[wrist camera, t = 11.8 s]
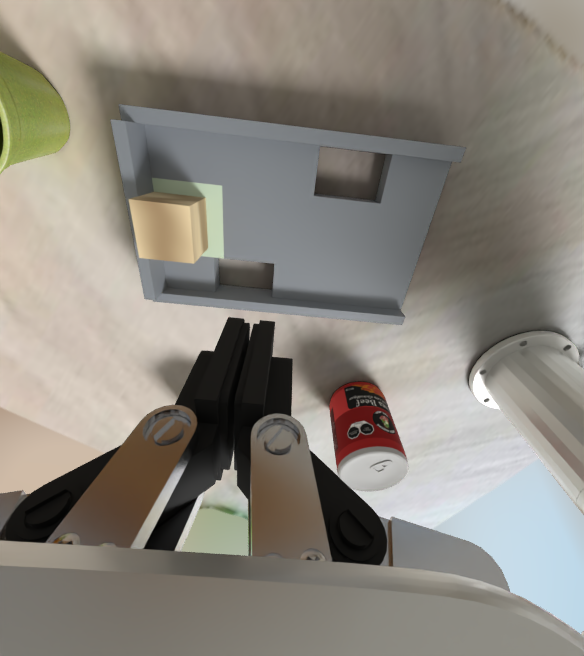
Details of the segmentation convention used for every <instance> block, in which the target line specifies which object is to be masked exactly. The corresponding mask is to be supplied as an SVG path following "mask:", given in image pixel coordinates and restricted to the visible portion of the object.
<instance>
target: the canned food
mask: <svg viewBox="0 0 584 656" xmlns="http://www.w3.org/2000/svg"><path fill="white" fill-rule="evenodd" d="M329 408H330V417H331V425H332V433H333V441H334V449H335V457H336V465H337V472H338V475H339V478H340V479H341V480H342V481H343V482H344V483H346V484H347V485H348V486H349V487H350V488H351V489H353V490H357V491H378V490H383V489H387V488H389V487H392V486H394V485H396V484H398V483H399V482H400V481H402V480H403V479H404V478H405V477H406V475H407V473H408V470H409V466H408V462H407V458H406V455H405V452H404V449H403V446H402V443H401V441H400V438H399V435H398V432H397V430H396V427H395V424H394V421H393V419H392V416H391V413H390V410H389V408H388V405H387V402H386V399H385V397H384V395H383V393H382V392H381V391H380V390H379V389H378V387H376V386H375V385H373V384H371V383H367V382H352V383H348V384H346V385H344V386H342V387H340V388H339V389H338V390H336V391H335V393H334V394H333V395H332V397H331V401H330V405H329Z"/></svg>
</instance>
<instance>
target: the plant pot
mask: <svg viewBox="0 0 584 656" xmlns="http://www.w3.org/2000/svg"><path fill="white" fill-rule="evenodd" d="M69 133H70V122H69V117H68V113H67V110H66V107H65V105H64V103H63V100H62V99H61V97H60V96H59V94H58V93H57V92H56V91H55V90H54V88H53V87H52V86H51V85H50V84H49V82H48V81H47V80H46V79H45V78H44V77H43V75H42V74H40V73H39V72H38V71H36V70H35V69H33V68H32V67H30V66H28V65H26V64H24V63H22V62H20V61H18V60H16V59H14V58H12V57H10V56H8V55H6V54H4V53H2V52H0V174H1V173H2V171H3V170H4V169H6V168H7V167H9V166H10V165H12V164H16V163H19V162H23V161H26V160H30V159H34V158H37V157H41V156H45V155H49V154H52V153H56V152H57V151H59V150H60V149H61V148H62V147H63V146H64V144H65V143H66V142H67V140H68V138H69Z"/></svg>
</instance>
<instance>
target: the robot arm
mask: <svg viewBox="0 0 584 656" xmlns="http://www.w3.org/2000/svg"><path fill="white" fill-rule="evenodd" d="M274 329H275V322H272V321H262V320H260V323H259V324H254V325H253V329H252V333H251V337H250V341H249V333H250V324H249V323H244V319H241V318H231V317H229V318H228V319H227V322H226V324H225V327H224V329H223V331H222V334H221V336H220V339H219V341H218V343H217V346H216V348H215V350H214V352H213V351H201V352H200V354H199V356H198V358H197V360H196V362H195V364H194V366H193V368H192V370H191V373H190V375H189V377H188V379H187V381H186V383H185V385H184V387H183V389H182V391H181V393H180V395H179V397H178V399H177V401H176V403H175V405H169V406H163V407H161V408H158V409H155V410H154V411H152V412H150V413H149V414H147V415H146V416H145V417H144V418H143V419H142V420H141V421H140V422H139V424H138V425H137V426H136V428H135V429H134V430H133V431H132V433H131V434H130V435H129V437H128V438H127V439H126V440H125V442H124V443H123V444H122V445H121V446H119V447H117V448H115V449H113V450H111V451H109V452H107V453H105V454H103V455H101V456H99V457H98V458H95V459H93V460H92V461H90V462H88V463H86V464H84V465H82V466H80V467H78V468H76V469H74V470H72V471H70V472H68V473H66V474H65V475H63V476H61V477H59V478H57V479H55V480H53V481H51V482H49V483H47V484H45V485H43V486H42V487H40V488H39V489H37V490H36V491H34V492H32V493H31V494H25V492H24V491H23V490H22V491H15V492H8V493H1V494H0V656H584V631H583V632H582V633H581V634H580V633H578V632H577V631H576V630H575V629H573V628H572V627H570V626H569V625H567V624H566V623H564V622H563V621H562V620H560V619H559V618H557V617H555V616H554V615H553V614H551V613H550V612H548V611H546V610H544V609H542V608H541V607H539V606H537V605H535V604H533V603H532V602H530V601H528V600H526V599H524V598H522V597H520V596H518V595H515V594H513V593H511V592H510V590H509V586H508V583H507V581H506V579H505V577H504V574H503V572H502V570H501V569H500V567H499V566H498V565H497V563H496V562H495V561H494V559H493V558H492V557H491V556H490V555H489V554H488V553H487V552H485V551H484V550H483V549H482V548H481V547H479V546H477V545H475V544H473V543H471V542H469V541H466V540H463V539H460V538H456V537H453V536H450V535H447V534H444V533H441V532H438V531H435V530H432V529H429V528H426V527H422V526H419V525H416V524H413V523H410V522H407V521H404V520H401V519H398V518H395V517H391V518H390V520H388V519H385V518H382V517H379V516H378V515H377V514H376V513H375V512H374V510H373V509H372V508H371V507H370V506H369V505H368V504H367V503H366V502H365V501H364V500H362V499H361V498H360V497H359V496H358V495H357V494H356V493H355V492H354V491H353V490H352V489H351V488H350V487H349V486H348V485H347V484H346V483H344V482H343V481H342V480H341V479H340V478H339V477H338V476H337V475H336V474H335V473H334V472H333V471H332V470H331V469H330V468H329V467H327V466H326V465H325V464H324V463H323V462H322V461H321V460H320V459H319V458H318V457H317V456H316V455H315V454H314V453H313V452H312V451H310V450H309V445H308V440H307V435H306V432H305V430H304V427H303V426H302V425H301V424H300V422H299V421H297V420H296V419H295V418H293V417H291V403H292V359H289V358H278V357H272V353H273V341H274ZM578 364H579V352H578V349H577V347H576V346H575V344H574V343H572V342H571V341H570V340H569V339H567V338H566V337H564V336H562V335H561V334H558V333H555V332H550V331H531V332H526V333H522V334H518V335H515V336H513V337H510V338H508V339H506V340H503V341H501V342H499V343H498V344H496V345H495V346H493V347H492V348H490V349H489V350H488V351H487V352H486V353H484V354H483V355H482V356H481V357H480V359H479V360H478V361H477V362H476V364H475V365H474V367H473V368H472V371H471V373H470V377H469V386H470V390H471V392H472V393H473V395H474V396H475V397H476V399H477V400H478V401H479V402H480V403H482V404H484V405H486V406H488V407H491V408H496V409H500V410H501V411H502V412H503V413H504V415H505V416H506V417H507V419H508V420H509V421H510V422H511V424H512V425H513V426H514V427H515V429H516V430H517V431H518V433H519V434H520V435H521V436H522V438H523V439H524V440H525V441H526V443H527V444H528V445H529V446H530V448H531V449H532V450H533V452H534V453H535V454H536V455H537V457H538V458H539V459H540V460H541V462H542V463H543V464H544V465H545V467H546V468H547V469H548V471H549V472H550V473H551V474H552V476H553V477H554V478H555V479H556V481H557V482H558V483H559V485H560V486H561V487H562V488H563V490H564V491H565V492H566V493H567V495H568V496H569V497H570V498H571V500H572V501H573V502H574V503H575V505H576V506H577V507H578V509H579V510H580V511H581V512H582V513H583V515H584V369H583V368H582V367H580V366H579V365H578ZM233 452H234V470H237V486H238V487H239V488H240V490H241V491H242V492H243V494H244V495H245V496H246V498H247V499H248V556H241V555H226V554H210V553H195V552H181V550H182V547H183V545H184V543H185V540H186V538H187V536H188V533H189V531H190V529H191V526H192V524H193V522H194V519H195V517H196V514H197V512H198V510H199V507H200V505H201V503H202V500H203V497H204V491H206V490H207V489H209V488H210V487H211V486H213V485H214V484H215V482H216V480H221V477H222V473H223V469H225V470H229V469H230V466H231V461H232V456H233Z"/></svg>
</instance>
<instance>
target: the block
mask: <svg viewBox="0 0 584 656" xmlns="http://www.w3.org/2000/svg"><path fill="white" fill-rule="evenodd" d="M129 204H130V210H131V215H132V221H133V226H134V232H135V237H136V243H137V248H138V254H139V258H145V259H154V260H164V261H173V262H183V263H192V264H194V263H195V262H196V261H197V260H198V259H199V258H200V257H201V255H202V254H203V253H204V252H205V251H206V250H207V249H208V233H207V214H206V198H204V197H196V196H187V195H178V194H170V193H161V192H151V193H148V194H144V195H141V196H138V197H134V198H131V199H129Z"/></svg>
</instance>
